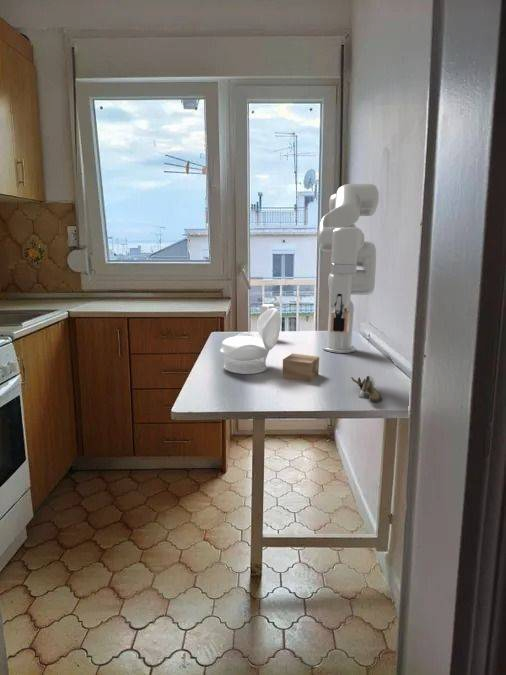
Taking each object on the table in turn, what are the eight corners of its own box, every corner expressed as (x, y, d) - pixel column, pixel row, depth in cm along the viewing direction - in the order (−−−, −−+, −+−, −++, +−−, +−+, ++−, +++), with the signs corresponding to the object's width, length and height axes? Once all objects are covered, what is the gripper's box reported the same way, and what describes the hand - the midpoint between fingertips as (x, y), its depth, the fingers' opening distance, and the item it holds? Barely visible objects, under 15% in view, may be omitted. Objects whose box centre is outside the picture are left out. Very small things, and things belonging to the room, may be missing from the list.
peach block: (332, 328, 141) (334, 310, 140) (348, 330, 139) (350, 311, 138) (330, 331, 136) (331, 312, 135) (346, 333, 135) (348, 313, 133)
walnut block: (291, 371, 147) (292, 353, 146) (318, 374, 143) (319, 356, 142) (282, 378, 139) (282, 359, 138) (310, 382, 135) (310, 363, 134)
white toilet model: (220, 359, 158) (220, 304, 154) (275, 359, 160) (277, 304, 156) (220, 376, 139) (220, 313, 135) (283, 376, 141) (285, 313, 136)
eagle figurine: (343, 389, 125) (358, 394, 116) (356, 367, 126) (371, 370, 117) (364, 402, 127) (381, 408, 118) (377, 381, 127) (393, 385, 119)
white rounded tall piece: (275, 341, 190) (276, 306, 187) (259, 340, 190) (260, 306, 187) (274, 337, 197) (275, 304, 194) (259, 337, 197) (260, 303, 194)
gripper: (335, 267, 143) (332, 323, 147) (325, 271, 127) (322, 333, 131) (359, 268, 140) (355, 325, 144) (352, 272, 124) (348, 336, 129)
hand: (339, 328), depth 138 cm, fingers closed on peach block, 5 cm apart
